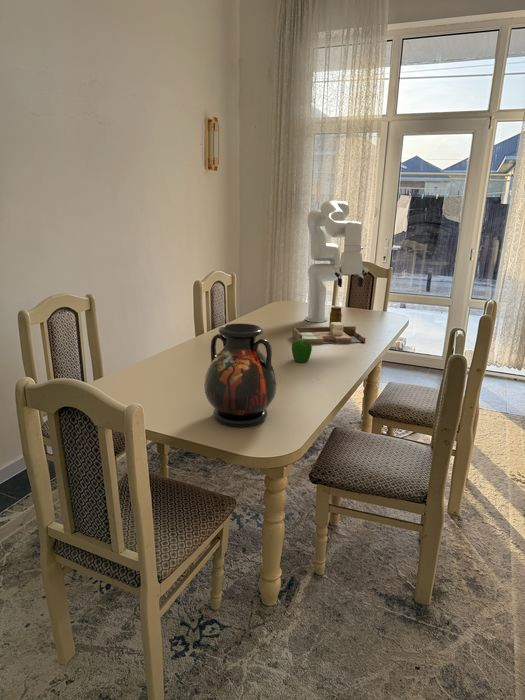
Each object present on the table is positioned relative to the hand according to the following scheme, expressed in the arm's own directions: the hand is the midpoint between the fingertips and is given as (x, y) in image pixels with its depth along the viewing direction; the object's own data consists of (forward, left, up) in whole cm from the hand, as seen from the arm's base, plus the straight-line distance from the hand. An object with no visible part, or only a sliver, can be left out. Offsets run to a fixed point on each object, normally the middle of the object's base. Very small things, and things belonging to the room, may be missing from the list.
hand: (349, 286), depth 231 cm
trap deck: (-1, -8, -26) cm, 27 cm away
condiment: (-19, +1, -26) cm, 33 cm away
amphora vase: (+83, -62, -26) cm, 107 cm away
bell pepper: (+30, -30, -26) cm, 50 cm away
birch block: (-3, -4, -24) cm, 24 cm away
